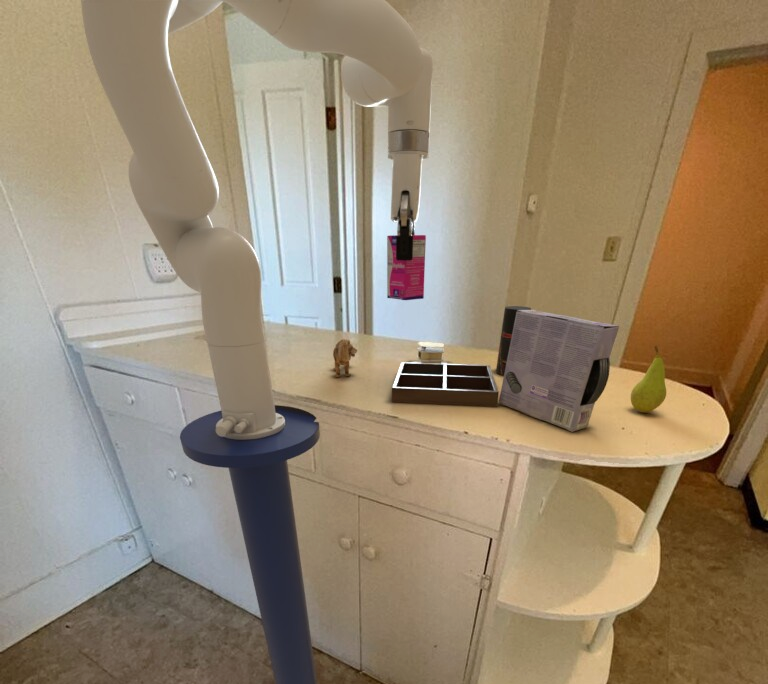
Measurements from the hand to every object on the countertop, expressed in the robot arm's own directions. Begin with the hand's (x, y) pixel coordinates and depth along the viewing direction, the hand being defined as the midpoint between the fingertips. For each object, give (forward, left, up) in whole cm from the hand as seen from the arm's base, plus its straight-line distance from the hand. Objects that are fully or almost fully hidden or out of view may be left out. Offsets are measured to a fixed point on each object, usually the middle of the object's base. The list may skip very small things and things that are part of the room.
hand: (405, 258), depth 87 cm
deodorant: (+12, -26, -25) cm, 38 cm away
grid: (-4, -10, -25) cm, 27 cm away
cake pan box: (-19, -29, -25) cm, 43 cm away
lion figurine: (+6, +15, -25) cm, 30 cm away
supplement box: (0, 0, -8) cm, 8 cm away
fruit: (-14, -49, -25) cm, 57 cm away
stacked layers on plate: (+16, -6, -25) cm, 30 cm away
